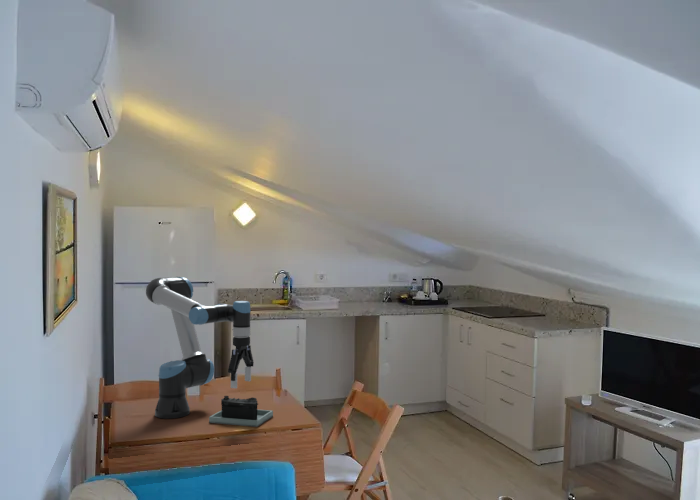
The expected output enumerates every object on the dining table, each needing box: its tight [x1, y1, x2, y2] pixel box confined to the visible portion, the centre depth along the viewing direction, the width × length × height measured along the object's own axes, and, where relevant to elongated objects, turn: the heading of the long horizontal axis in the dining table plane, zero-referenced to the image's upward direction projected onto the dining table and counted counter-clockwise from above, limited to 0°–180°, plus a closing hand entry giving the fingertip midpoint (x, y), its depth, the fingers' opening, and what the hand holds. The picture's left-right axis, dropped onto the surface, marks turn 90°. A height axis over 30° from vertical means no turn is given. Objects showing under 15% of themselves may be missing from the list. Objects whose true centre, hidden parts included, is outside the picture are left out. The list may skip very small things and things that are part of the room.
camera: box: [220, 395, 259, 420], centre depth 259 cm, size 18×9×10 cm, turn 75°
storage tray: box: [208, 408, 274, 428], centre depth 259 cm, size 23×17×2 cm
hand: (241, 384), depth 260 cm, fingers open, 13 cm apart
